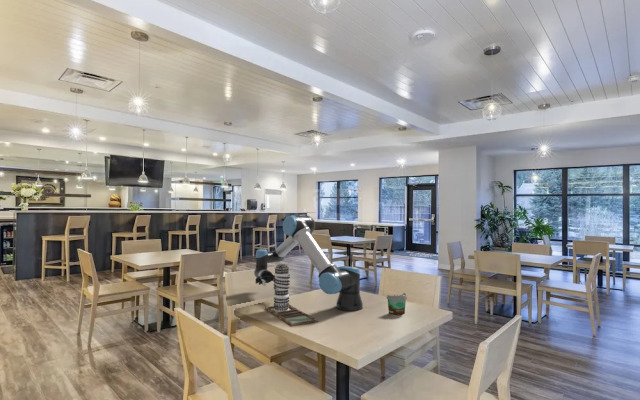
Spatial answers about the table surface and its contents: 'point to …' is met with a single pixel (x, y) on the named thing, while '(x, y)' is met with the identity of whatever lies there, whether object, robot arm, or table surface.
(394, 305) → the food container
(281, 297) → the decorative candle
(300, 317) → the brown flat rectangular frame
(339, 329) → the table surface
